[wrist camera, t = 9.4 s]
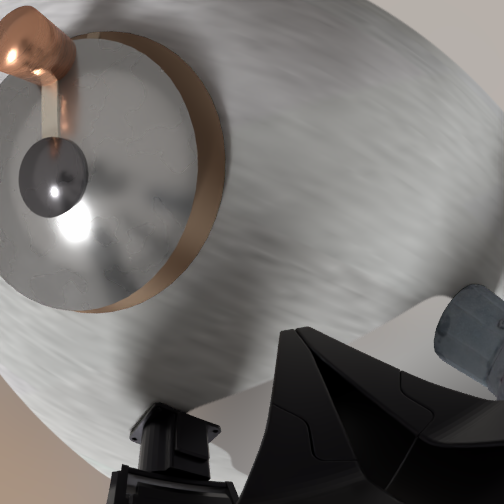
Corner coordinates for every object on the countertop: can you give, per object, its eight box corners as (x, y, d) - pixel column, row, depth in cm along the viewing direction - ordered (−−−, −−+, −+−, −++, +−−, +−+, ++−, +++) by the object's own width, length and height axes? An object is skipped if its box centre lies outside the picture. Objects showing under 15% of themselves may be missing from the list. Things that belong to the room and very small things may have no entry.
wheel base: (133, 349, 20) (130, 359, 19) (-41, 221, 14) (-50, 224, 13) (283, 130, 17) (289, 128, 16) (69, 5, 12) (63, -2, 10)
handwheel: (211, 281, 18) (219, 346, 11) (11, 301, 16) (-38, 351, 9) (190, 23, 13) (186, -42, 7) (-18, 87, 11) (-79, 75, 5)
